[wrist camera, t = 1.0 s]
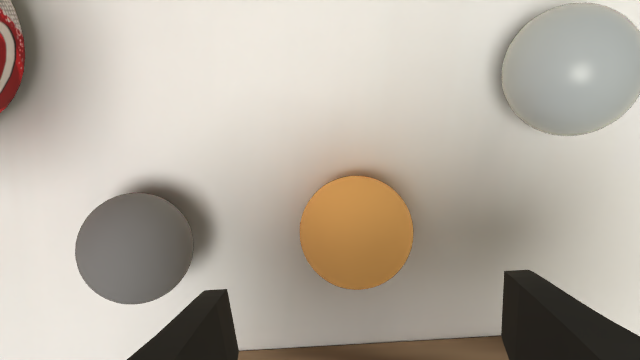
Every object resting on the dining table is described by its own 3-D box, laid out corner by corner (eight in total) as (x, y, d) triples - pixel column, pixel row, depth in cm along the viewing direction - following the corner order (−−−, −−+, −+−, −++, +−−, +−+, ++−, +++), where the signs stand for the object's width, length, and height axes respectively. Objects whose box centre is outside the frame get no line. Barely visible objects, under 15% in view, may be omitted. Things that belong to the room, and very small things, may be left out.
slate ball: (484, 124, 18) (525, 157, 14) (487, 9, 16) (533, 10, 12) (596, 115, 17) (669, 145, 14) (609, -3, 16) (694, -5, 12)
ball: (308, 257, 20) (302, 317, 16) (297, 165, 18) (288, 207, 14) (406, 250, 19) (423, 309, 16) (403, 156, 18) (421, 197, 14)
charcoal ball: (119, 270, 20) (70, 331, 16) (95, 181, 19) (35, 226, 15) (213, 263, 20) (184, 324, 16) (195, 173, 18) (160, 216, 15)
